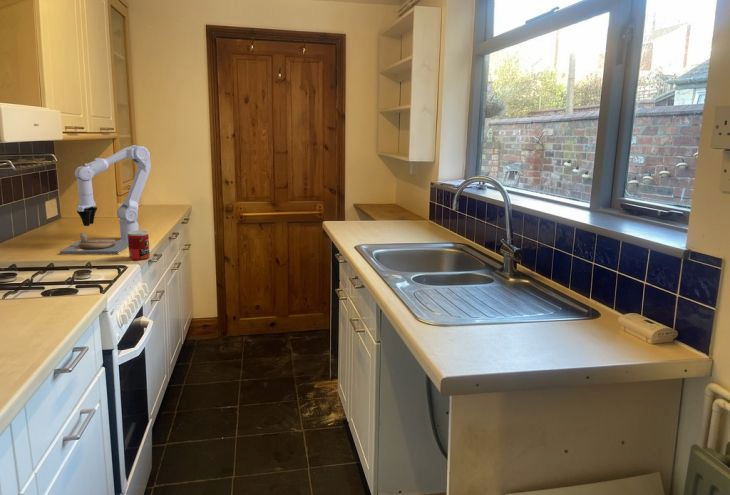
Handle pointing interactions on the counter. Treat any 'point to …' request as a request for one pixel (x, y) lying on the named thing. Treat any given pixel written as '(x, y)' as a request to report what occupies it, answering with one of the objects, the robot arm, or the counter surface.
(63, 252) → the board
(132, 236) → the canned food
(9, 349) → the counter surface
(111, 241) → the dial
